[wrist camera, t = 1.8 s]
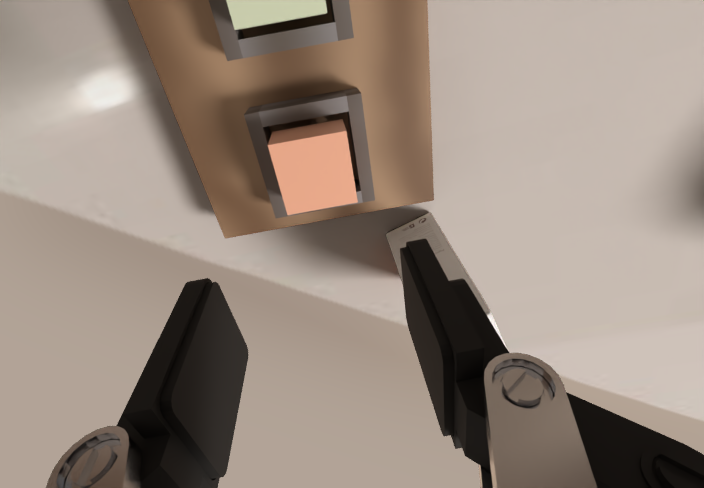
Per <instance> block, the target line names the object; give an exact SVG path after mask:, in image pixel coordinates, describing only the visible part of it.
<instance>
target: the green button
mask: <svg viewBox="0 0 704 488" xmlns="http://www.w3.org/2000/svg"><path fill="white" fill-rule="evenodd" d="M226 1H227V5H228V8H229V12H230V15H231V19H232V22H233V26H234V29H235V30H238V29H246V28H252V27H257V26H263V25H268V24H274V23H279V22H285V21H290V20H295V19H301V18H306V17H312V16H317V15H323V14H326V13H327V7H326V1H325V0H226Z"/></svg>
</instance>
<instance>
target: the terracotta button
mask: <svg viewBox="0 0 704 488" xmlns="http://www.w3.org/2000/svg"><path fill="white" fill-rule="evenodd" d="M268 148H269V152H270V155H271V159H272V162H273V166H274V169H275V173H276V176H277V180H278V183H279V187H280V190H281V194H282V197H283V201H284V204H285V208H286V211H287V215H292V214H297V213H303V212H308V211H314V210H319V209H324V208H330V207H335V206H341V205H346V204H352V203H357V202H358V200H357V194H356V188H355V182H354V175H353V169H352V163H351V157H350V150H349V144H348V138H347V132H346V128H345V125H344V122H343V119H339V120H334V121H328V122H323V123H317V124H312V125H306V126H301V127H296V128H290V129H285V130H279V131H274V132H272V134H271V137H270V140H269V143H268Z"/></svg>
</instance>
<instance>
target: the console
mask: <svg viewBox="0 0 704 488" xmlns="http://www.w3.org/2000/svg"><path fill="white" fill-rule="evenodd" d="M325 1H326V7H327V13H326V14H323V15H317V16H312V17H306V18H301V19H295V20H290V21H285V22H279V23H274V24H268V25H263V26H257V27H252V28H246V29H238V30H235V29H234V26H233V22H232V19H231V15H230V12H229V8H228V5H227V1H226V0H128V3H129V5H130V7H131V10H132V12H133V15H134V17H135V20H136V22H137V25H138V27H139V29H140V32H141V34H142V37H143V39H144V42H145V44H146V47H147V49H148V51H149V54H150V56H151V59H152V61H153V64H154V66H155V68H156V71H157V73H158V76H159V78H160V81H161V83H162V86H163V88H164V90H165V93H166V95H167V98H168V100H169V103H170V105H171V108H172V110H173V112H174V115H175V117H176V120H177V122H178V125H179V127H180V130H181V132H182V134H183V137H184V139H185V142H186V144H187V147H188V149H189V151H190V154H191V156H192V159H193V161H194V164H195V166H196V169H197V171H198V173H199V176H200V178H201V181H202V183H203V186H204V188H205V191H206V193H207V195H208V198H209V200H210V203H211V205H212V208H213V210H214V212H215V215H216V217H217V220H218V222H219V225H220V227H221V230H222V232H223V234H224V237H225V238H230V237H236V236H241V235H247V234H252V233H258V232H263V231H268V230H274V229H279V228H285V227H290V226H296V225H301V224H307V223H312V222H318V221H323V220H328V219H334V218H339V217H345V216H350V215H356V214H361V213H367V212H372V211H378V210H383V209H388V208H394V207H399V206H405V205H410V204H416V203H421V202H427V201H432V200H434V193H433V162H432V131H431V101H430V70H429V39H428V8H427V0H325ZM339 119H343V122H344V125H345V128H346V132H347V138H348V144H349V150H350V157H351V163H352V169H353V175H354V182H355V188H356V194H357V200H358V202H357V203H352V204H346V205H341V206H335V207H330V208H324V209H319V210H314V211H308V212H303V213H297V214H292V215H287V211H286V208H285V204H284V201H283V197H282V194H281V190H280V187H279V183H278V180H277V176H276V173H275V169H274V166H273V162H272V159H271V155H270V152H269V148H268V143H269V140H270V137H271V134H272V132H274V131H279V130H285V129H290V128H296V127H301V126H306V125H312V124H317V123H323V122H328V121H334V120H339Z"/></svg>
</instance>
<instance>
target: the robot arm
mask: <svg viewBox="0 0 704 488" xmlns="http://www.w3.org/2000/svg"><path fill="white" fill-rule="evenodd" d="M400 258H401V268H402V278H403V289H404V299H405V309H406V318H407V323H408V327H409V331H410V334H411V337H412V340H413V343H414V346H415V350H416V353H417V356H418V359H419V362H420V365H421V368H422V372H423V375H424V378H425V381H426V384H427V387H428V391H429V393H430V397H431V400H432V403H433V406H434V409H435V413H436V416H437V419H438V422H439V425H440V428H441V431H442V434H443V436H448V435H451V437H452V439H453V443H454V446H455V448H456V449H457V448H463V451H464V454H465V456H466V457H468V458H469V459H471V460H473V461H474V462H476V463H478V467H479V478H480V488H704V455H703V454H702V453H700V452H698V451H696V450H694V449H692V448H690V447H689V446H687V445H685V444H683V443H680V442H678V441H676V440H674V439H671V438H669V437H667V436H665V435H662V434H660V433H658V432H655V431H653V430H651V429H648V428H646V427H644V426H642V425H639V424H637V423H635V422H633V421H630V420H628V419H626V418H623V417H621V416H619V415H617V414H614V413H612V412H610V411H608V410H605V409H603V408H601V407H599V406H596V405H594V404H592V403H589V402H587V401H585V400H582V399H580V398H578V397H576V396H573V395H571V394H569V393H567V392H566V390H565V388H564V384H563V383H562V381H561V379H560V377H559V375H558V374H557V373H556V372H555V371H554V370H553V369H552V367H551V366H549V365H548V364H546V363H545V362H543V361H542V360H540V359H538V358H536V357H533V356H530V355H528V354H522V353H509V352H508V350H507V348H506V347H505V345H504V343H503V342H502V340H501V338H500V337H499V335H498V333H497V332H496V330H495V328H494V327H493V325H492V323H491V322H490V320H489V318H488V317H487V315H486V313H485V312H484V310H483V308H482V307H481V305H480V303H479V302H478V300H477V298H476V297H475V295H474V293H473V292H472V290H471V288H470V287H469V285H468V283H467V282H466V281H465V280H464V279H463V278H461V279H456V280H450V281H449V280H448V278H447V276H446V275H445V273H444V271H443V269H442V267H441V265H440V263H439V261H438V260H437V258H436V256H435V254H434V252H433V250H432V248H431V246H430V244H429V243H428V241H427V239H419V240H414V241H408V242H406V247H404V248H400ZM247 361H248V349H247V345H246V343H245V341H244V339H243V336H242V334H241V332H240V330H239V328H238V326H237V324H236V321H235V319H234V317H233V315H232V313H231V311H230V308H229V306H228V304H227V302H226V300H225V298H224V295H223V293H222V291H221V289H220V286H219V285H218V283H216V282H213V283H212V281H211V280H210V279H208V278H207V279H202V280H196V281H190V282H187V283H186V284H185V286H184V288H183V290H182V292H181V294H180V296H179V298H178V301H177V302H176V304H175V307H174V309H173V311H172V313H171V315H170V317H169V319H168V321H167V323H166V325H165V327H164V329H163V331H162V334H161V336H160V338H159V339H158V341H157V343H156V345H155V348H154V349H153V352H152V354H151V356H150V358H149V360H148V362H147V364H146V366H145V368H144V370H143V372H142V374H141V376H140V378H139V381H138V383H137V385H136V387H135V389H134V391H133V393H132V395H131V397H130V399H129V401H128V404H127V405H126V408H125V410H124V412H123V414H122V416H121V418H120V420H119V422H118V424H117V426H107V427H104V428H100V429H97V430H95V431H93V432H91V433H90V434H88V435H86V436H84V437H83V438H82V439H80V440H79V441H78V442H76V443H75V444H74V445H73V446H72V447H71V448H70V449H69V450H68V451H67V452H66V453H65V454H64V455H63V456H62V457H61V459H60V460H59V461H58V463H57V464H56V466H55V467H54V469H53V471H52V473H51V476H50V478H49V480H48V483H47V486H46V488H217V487H218V483H219V478H220V477H223V476H224V475H225V473H226V471H227V466H228V461H229V456H230V450H231V445H232V440H233V435H234V429H235V424H236V419H237V413H238V408H239V403H240V398H241V392H242V387H243V381H244V376H245V371H246V366H247Z"/></svg>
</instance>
